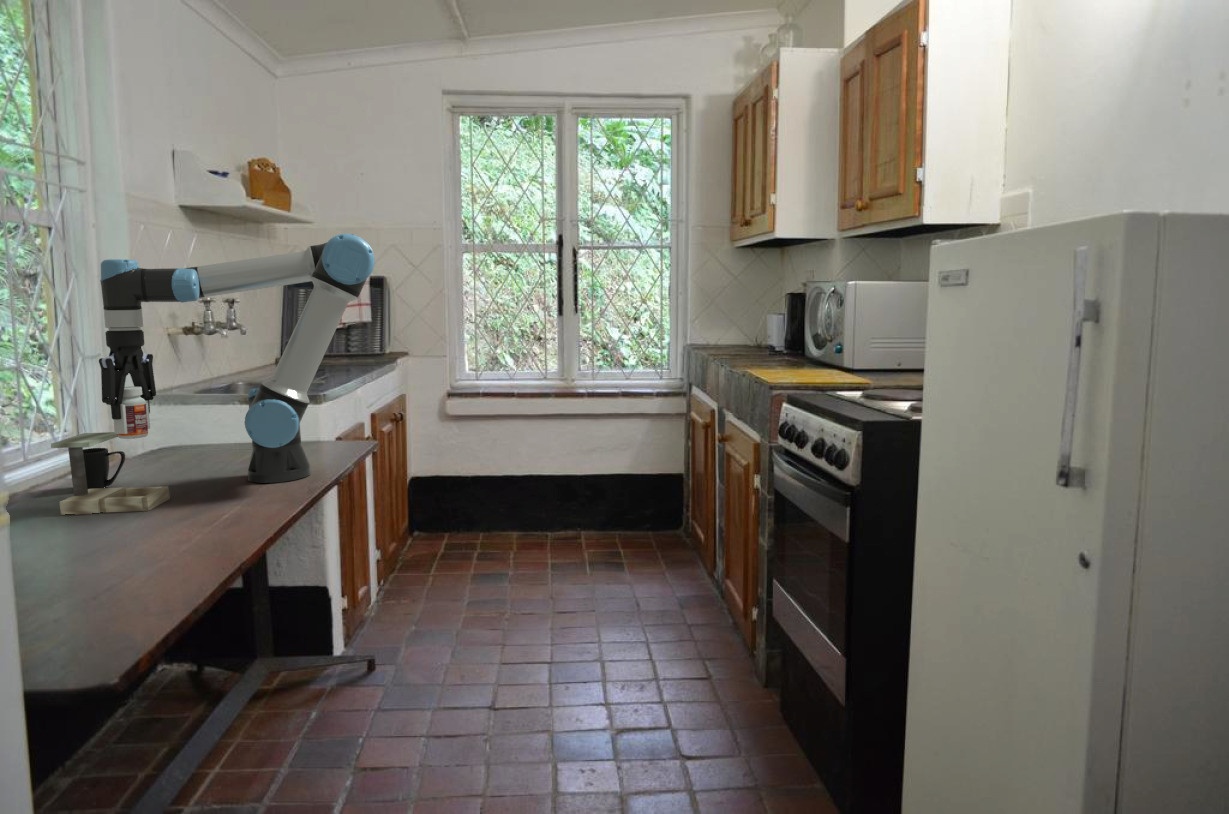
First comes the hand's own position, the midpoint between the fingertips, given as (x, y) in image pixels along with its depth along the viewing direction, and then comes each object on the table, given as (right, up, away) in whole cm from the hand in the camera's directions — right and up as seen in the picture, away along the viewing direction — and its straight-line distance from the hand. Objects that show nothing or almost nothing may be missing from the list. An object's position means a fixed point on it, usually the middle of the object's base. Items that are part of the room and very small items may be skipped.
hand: (132, 430), depth 201 cm
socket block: (-3, -17, -1) cm, 17 cm away
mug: (-18, -15, +18) cm, 29 cm away
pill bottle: (0, -2, 0) cm, 2 cm away
